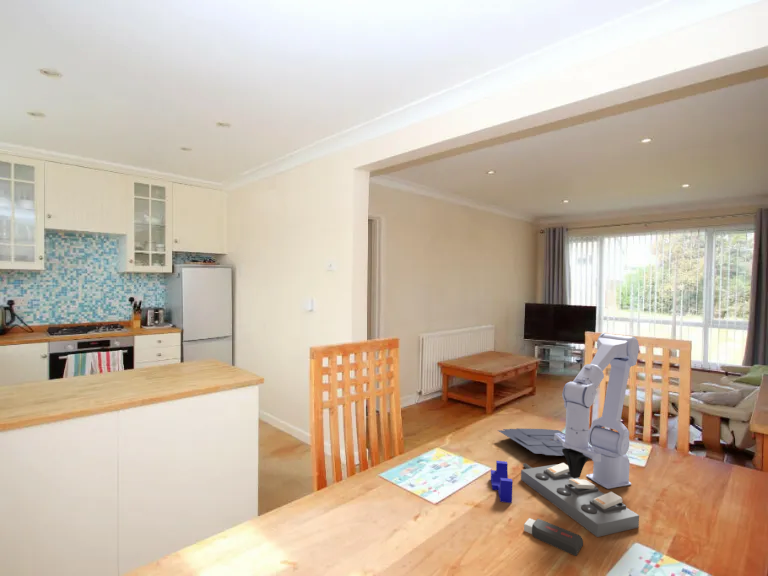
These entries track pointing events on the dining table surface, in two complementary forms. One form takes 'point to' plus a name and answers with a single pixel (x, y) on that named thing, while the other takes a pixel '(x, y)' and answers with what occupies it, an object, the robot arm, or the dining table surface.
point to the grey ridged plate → (536, 440)
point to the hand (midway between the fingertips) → (575, 476)
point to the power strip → (579, 502)
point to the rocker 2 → (607, 500)
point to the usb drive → (554, 535)
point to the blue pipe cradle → (502, 482)
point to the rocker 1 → (558, 469)
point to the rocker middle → (581, 483)
